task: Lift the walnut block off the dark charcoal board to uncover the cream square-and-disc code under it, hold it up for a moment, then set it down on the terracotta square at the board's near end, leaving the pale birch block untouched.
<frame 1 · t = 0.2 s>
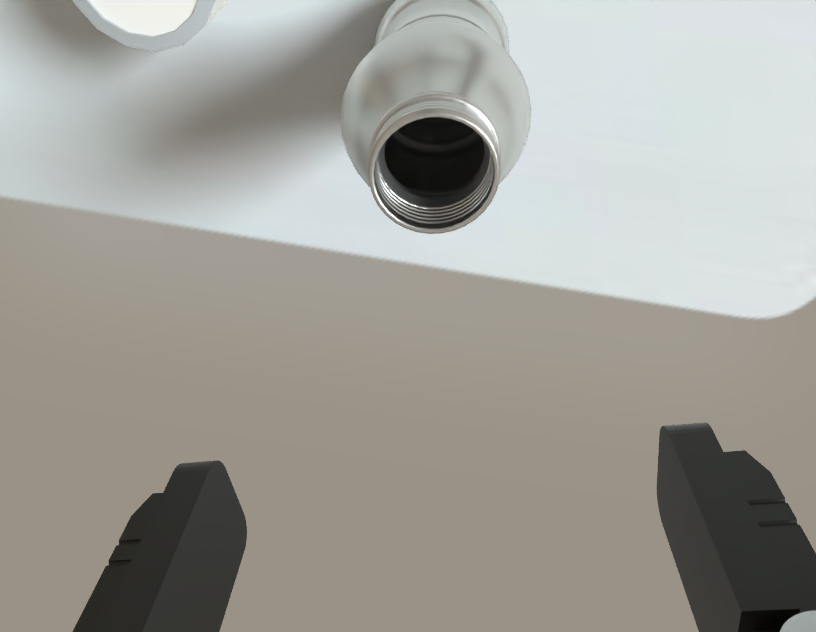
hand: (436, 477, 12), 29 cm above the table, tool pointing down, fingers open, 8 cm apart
plastic bottle: (441, 42, 36), on the table
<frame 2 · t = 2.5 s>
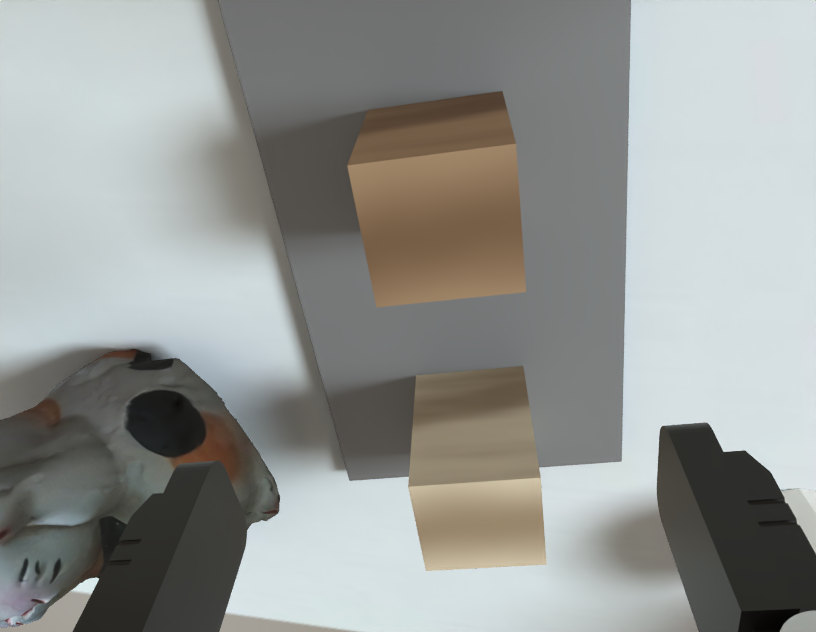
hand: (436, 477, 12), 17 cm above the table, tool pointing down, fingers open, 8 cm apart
walnut block: (442, 165, 26), point 1 cm above the table, touching code board
white cylinder: (783, 522, 37), on the table
lucky cat figurine: (141, 437, 36), on the table
code board: (442, 158, 27), on the table
pale birch block: (474, 411, 33), point 1 cm above the table, touching code board
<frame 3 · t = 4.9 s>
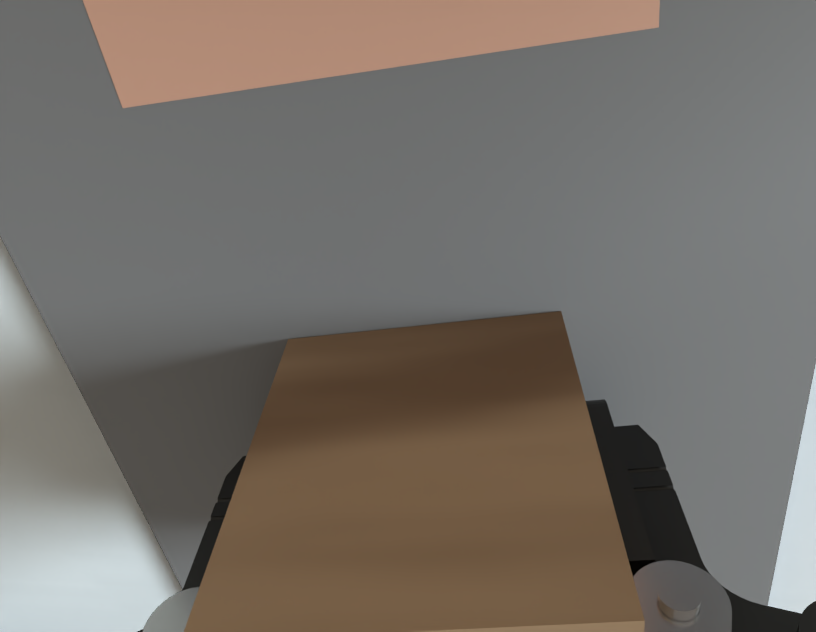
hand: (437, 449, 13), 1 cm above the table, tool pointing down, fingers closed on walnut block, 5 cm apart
walnut block: (439, 429, 14), point 1 cm above the table, touching code board, gripper
code board: (439, 403, 14), on the table
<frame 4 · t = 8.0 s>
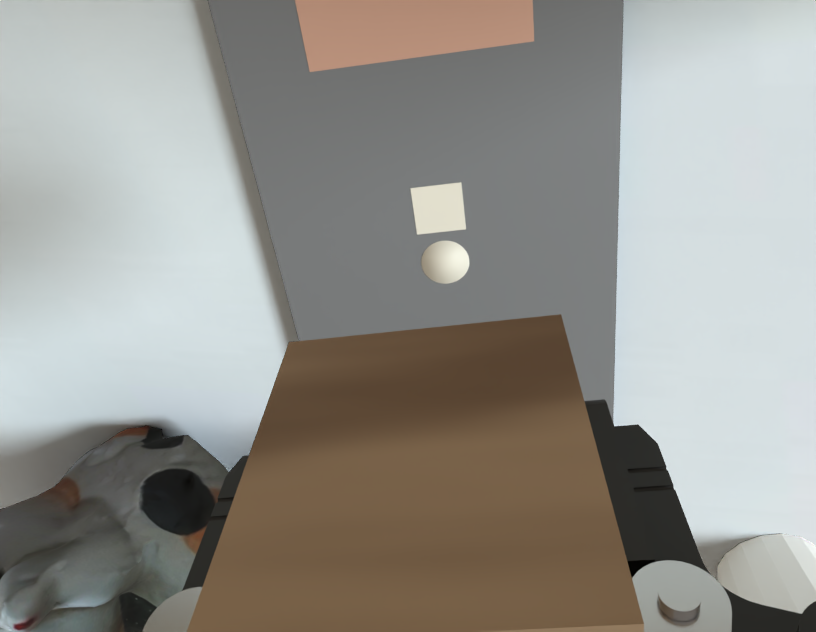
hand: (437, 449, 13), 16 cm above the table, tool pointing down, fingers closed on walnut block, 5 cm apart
walnut block: (439, 431, 14), point 16 cm above the table, touching gripper
white cylinder: (766, 564, 39), on the table
lucky cat figurine: (156, 504, 38), on the table
code board: (442, 228, 28), on the table
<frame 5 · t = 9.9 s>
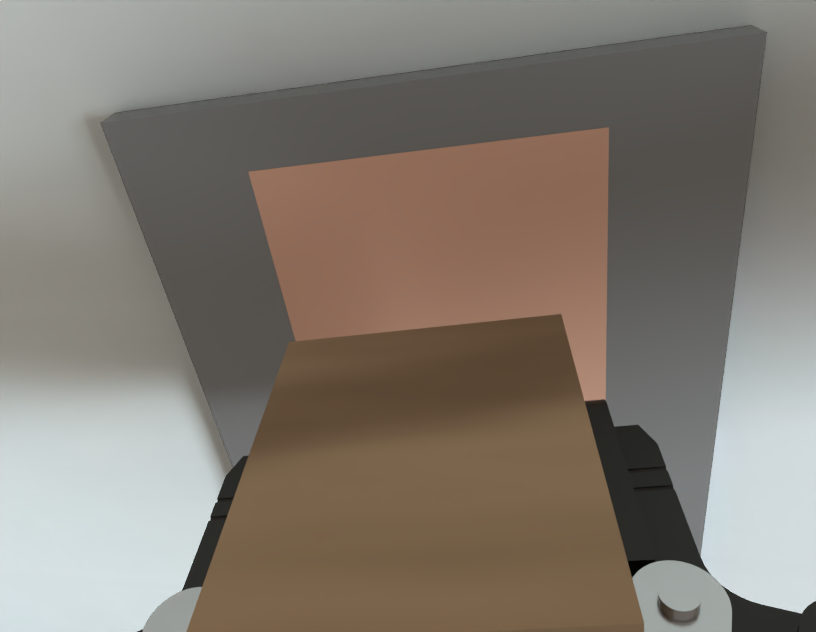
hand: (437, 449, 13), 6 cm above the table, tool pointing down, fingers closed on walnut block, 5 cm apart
walnut block: (439, 431, 14), point 5 cm above the table, touching gripper
code board: (480, 562, 23), on the table
when the fingers open (3 cm above the table, at t = 11.3 s): walnut block drops 1 cm, resting on code board.
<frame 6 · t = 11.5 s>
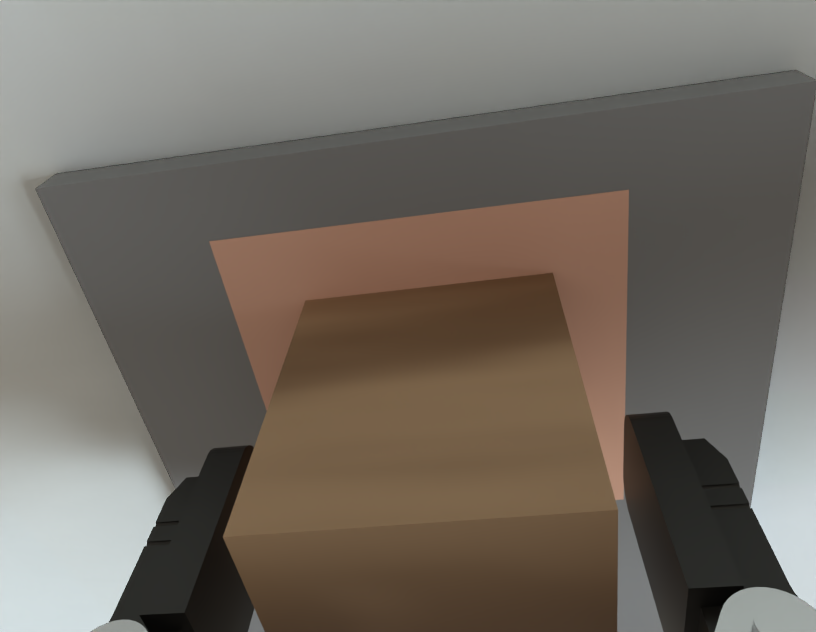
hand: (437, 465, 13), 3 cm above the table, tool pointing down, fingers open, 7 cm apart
walnut block: (442, 385, 15), point 1 cm above the table, touching code board
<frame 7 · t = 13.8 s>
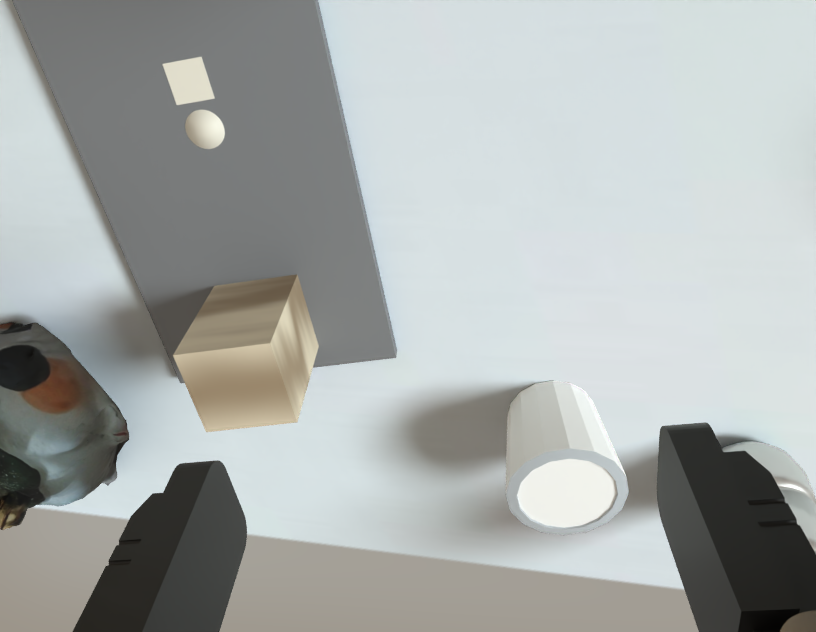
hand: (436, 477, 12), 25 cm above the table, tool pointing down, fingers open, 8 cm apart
white cylinder: (550, 412, 44), on the table
lucky cat figurine: (38, 397, 46), on the table
plastic bottle: (736, 462, 46), on the table
code board: (202, 101, 34), on the table
pale birch block: (267, 316, 40), point 1 cm above the table, touching code board
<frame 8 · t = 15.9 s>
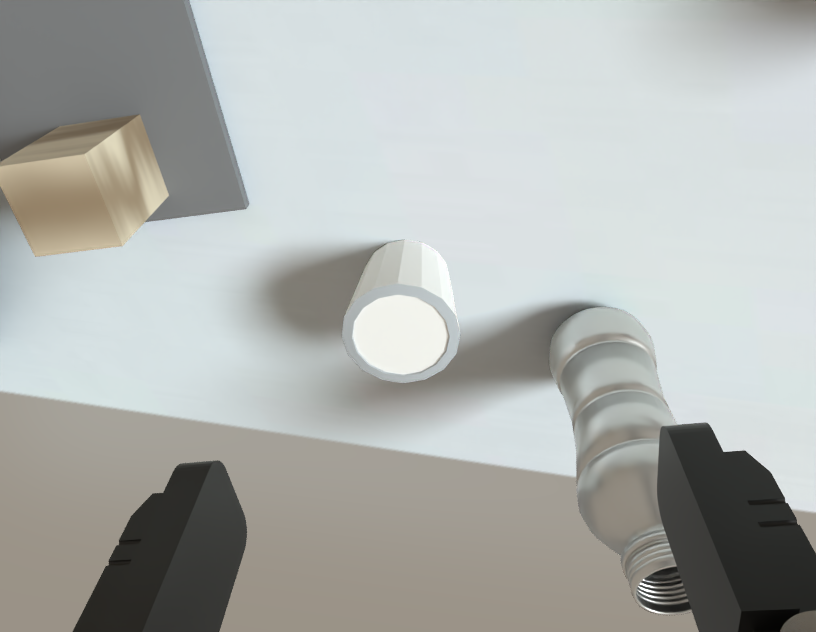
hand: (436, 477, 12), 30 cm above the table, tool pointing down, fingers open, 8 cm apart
white cylinder: (407, 276, 45), on the table
plastic bottle: (592, 333, 46), on the table
pale birch block: (115, 161, 41), point 1 cm above the table, touching code board
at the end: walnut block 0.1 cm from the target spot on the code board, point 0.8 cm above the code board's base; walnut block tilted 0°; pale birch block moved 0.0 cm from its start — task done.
